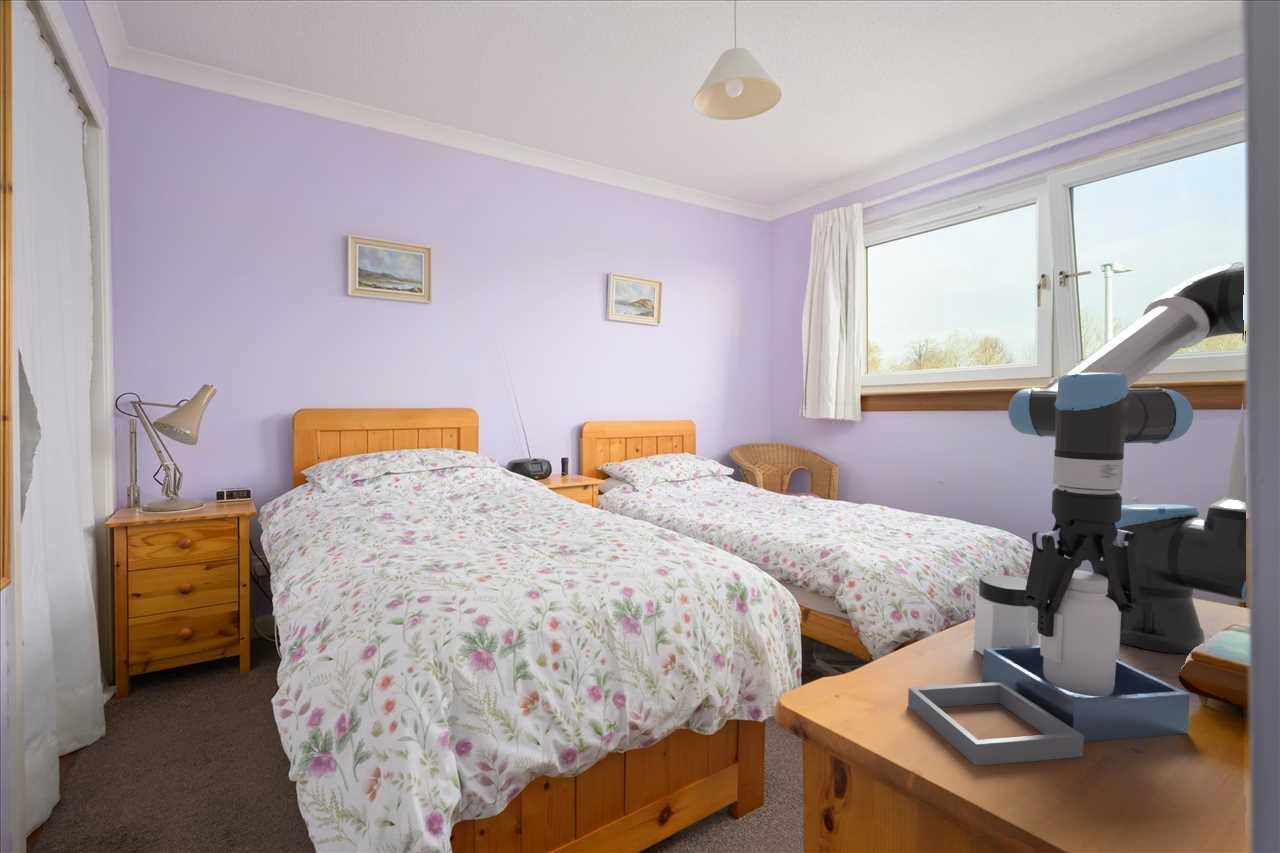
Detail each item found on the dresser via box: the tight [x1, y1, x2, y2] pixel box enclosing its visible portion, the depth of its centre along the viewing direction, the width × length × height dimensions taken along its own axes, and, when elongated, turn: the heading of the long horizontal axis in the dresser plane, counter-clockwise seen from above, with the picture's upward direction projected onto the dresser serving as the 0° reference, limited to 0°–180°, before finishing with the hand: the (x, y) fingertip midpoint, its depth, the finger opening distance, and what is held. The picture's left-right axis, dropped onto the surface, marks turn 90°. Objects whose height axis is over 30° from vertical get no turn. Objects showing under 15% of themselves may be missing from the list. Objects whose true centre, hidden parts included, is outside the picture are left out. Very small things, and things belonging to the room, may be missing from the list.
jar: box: [973, 574, 1040, 656], centre depth 100 cm, size 9×8×12 cm
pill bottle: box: [1043, 569, 1119, 696], centre depth 84 cm, size 8×8×15 cm
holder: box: [907, 682, 1085, 767], centre depth 78 cm, size 14×14×2 cm
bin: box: [981, 644, 1191, 743], centre depth 84 cm, size 16×16×5 cm
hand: (1079, 657), depth 84 cm, fingers closed on pill bottle, 8 cm apart
